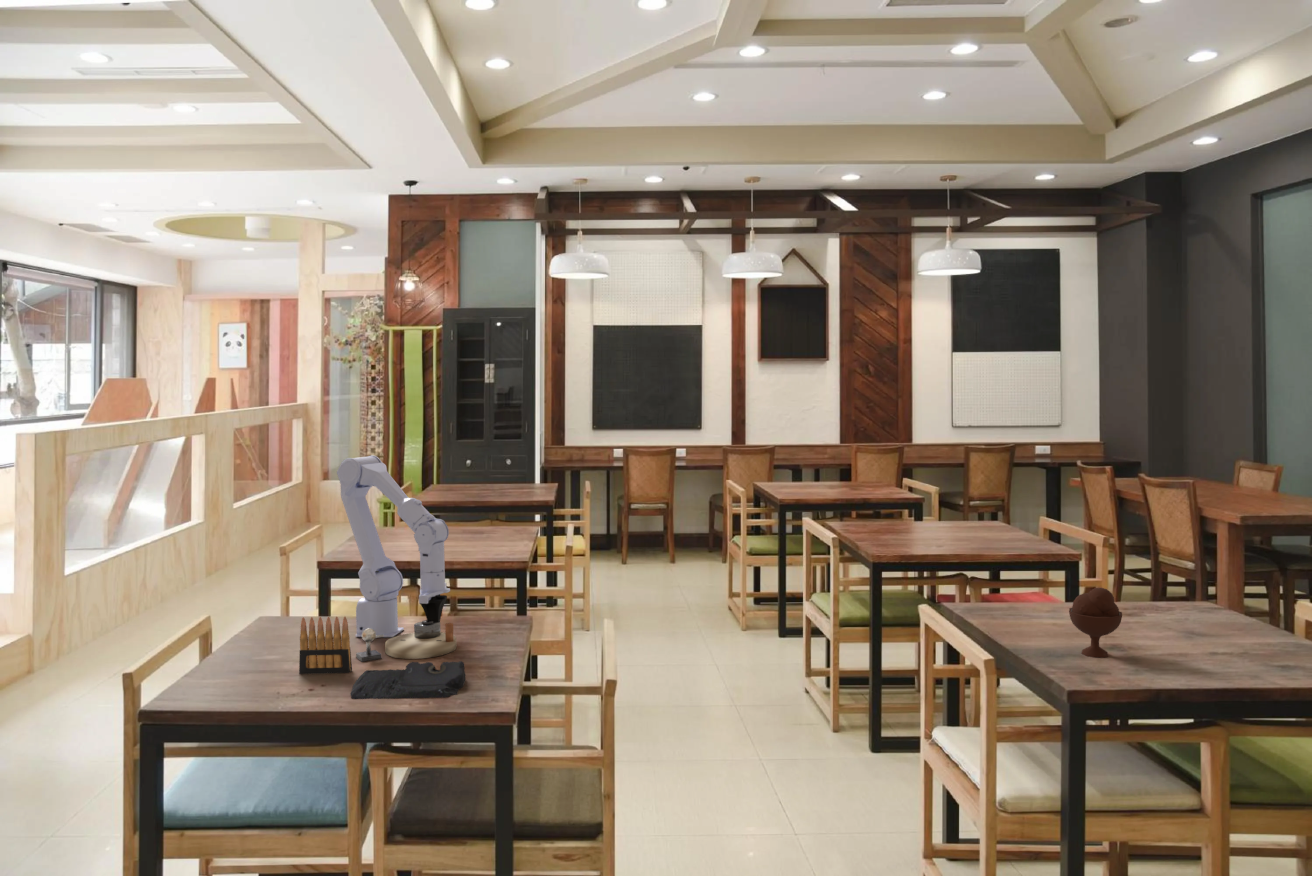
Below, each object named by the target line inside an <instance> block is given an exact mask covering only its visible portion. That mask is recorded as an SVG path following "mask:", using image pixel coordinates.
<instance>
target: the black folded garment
mask: <svg viewBox="0 0 1312 876" xmlns="http://www.w3.org/2000/svg"><path fill="white" fill-rule="evenodd" d="M439 668H440V669H437V668H436V665H434V664H433V662H430V661H429V662H428V661H427V662H424V663H420V662H418V661H411V662H409V663H408V664H407V665H406V666H405V669H375V670H374V669H373V670H369V669H368V670H366V669H365V671H364V672H363V673H361V675H359V677H358V678H357V679H356V681H355V682H354V684H353V685H352V688H351V691H350V699H352V700H369V699H371V700H385V699H387V700H389V699H392V700H396V699H400V700H401V699H430V698H431V699H434V698H435V699H436V698H437V699H440V698H441V699H442V698H445V699H446V698H449V697H450V696H457V695H458V693H459V690H461V689H462V688H463V687H464V686H465V682H466V676H467V675H466V671H465V662H463V661H462V660H460V661H446V662H445V661H444V662H442V663H441V664H440V667H439Z"/></svg>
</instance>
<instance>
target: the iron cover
mask: <svg viewBox="0 0 1312 876" xmlns="http://www.w3.org/2000/svg"><path fill="white" fill-rule="evenodd" d="M413 629H414V630H413V631H414V632H413V633H414V637H415V638H419V639H430V638H436V637H439V636H440V635H441V621H440V622H438V621H432V620H427V619H425V620H424V619H423V620H422V621H418V622H415V623H414V624H413Z"/></svg>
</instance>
